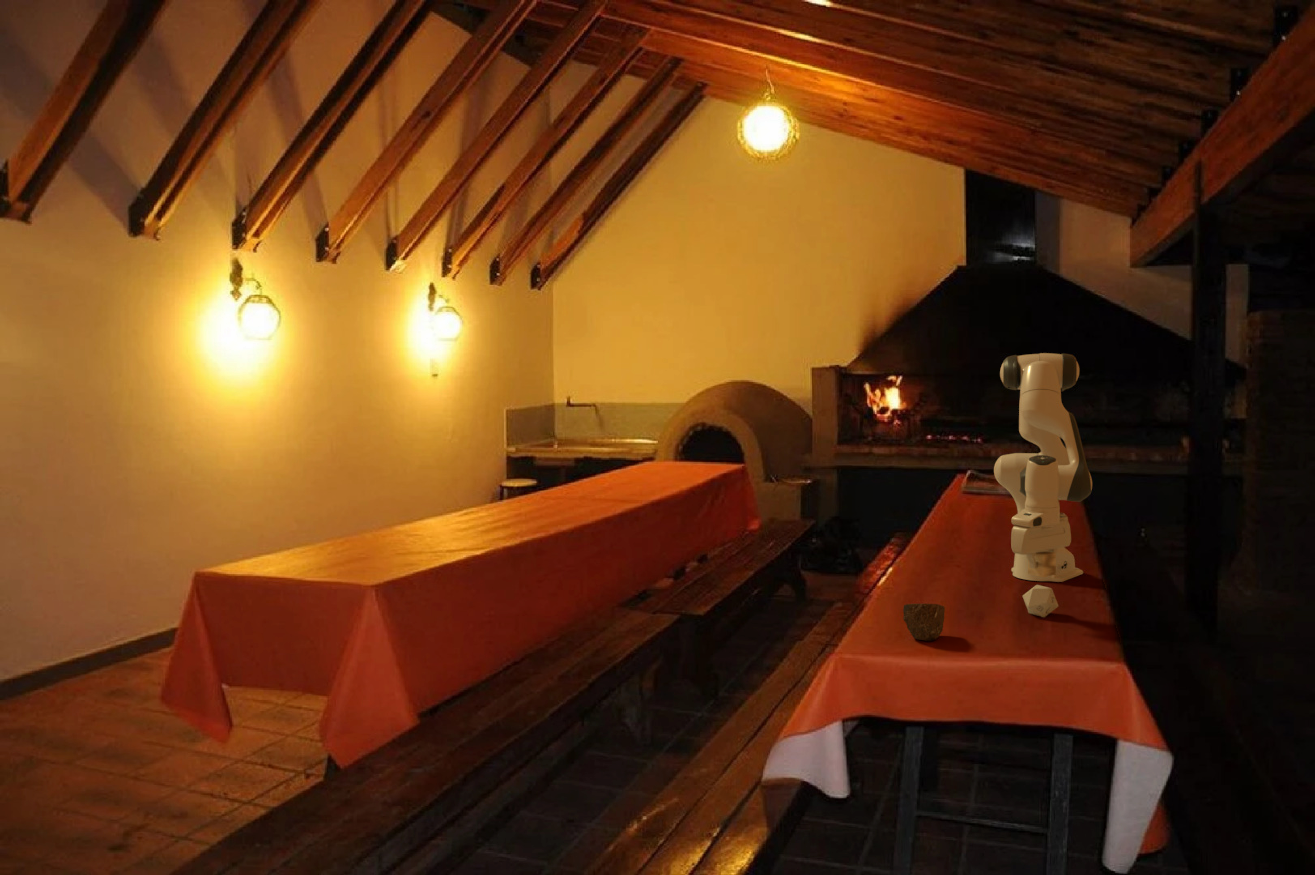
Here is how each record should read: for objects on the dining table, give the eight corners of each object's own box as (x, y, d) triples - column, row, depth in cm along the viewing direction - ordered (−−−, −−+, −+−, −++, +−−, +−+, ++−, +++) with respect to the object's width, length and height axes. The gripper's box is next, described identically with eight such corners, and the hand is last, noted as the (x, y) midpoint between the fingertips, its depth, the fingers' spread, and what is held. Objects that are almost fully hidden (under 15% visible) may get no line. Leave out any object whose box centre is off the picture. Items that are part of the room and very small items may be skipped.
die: (1027, 621, 270) (1050, 596, 266) (1010, 599, 277) (1033, 574, 273) (1047, 627, 274) (1070, 602, 270) (1030, 605, 281) (1052, 580, 277)
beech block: (1040, 571, 275) (1040, 549, 275) (1055, 574, 271) (1055, 552, 271) (1027, 573, 273) (1028, 552, 272) (1043, 577, 269) (1043, 555, 268)
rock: (933, 612, 263) (956, 598, 256) (941, 648, 258) (964, 635, 251) (896, 607, 259) (918, 593, 251) (902, 643, 254) (925, 630, 246)
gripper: (1057, 510, 278) (1057, 559, 280) (1007, 518, 268) (1006, 569, 270) (1077, 513, 273) (1076, 563, 274) (1026, 522, 263) (1026, 573, 264)
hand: (1041, 566), depth 272 cm, fingers closed on beech block, 5 cm apart
